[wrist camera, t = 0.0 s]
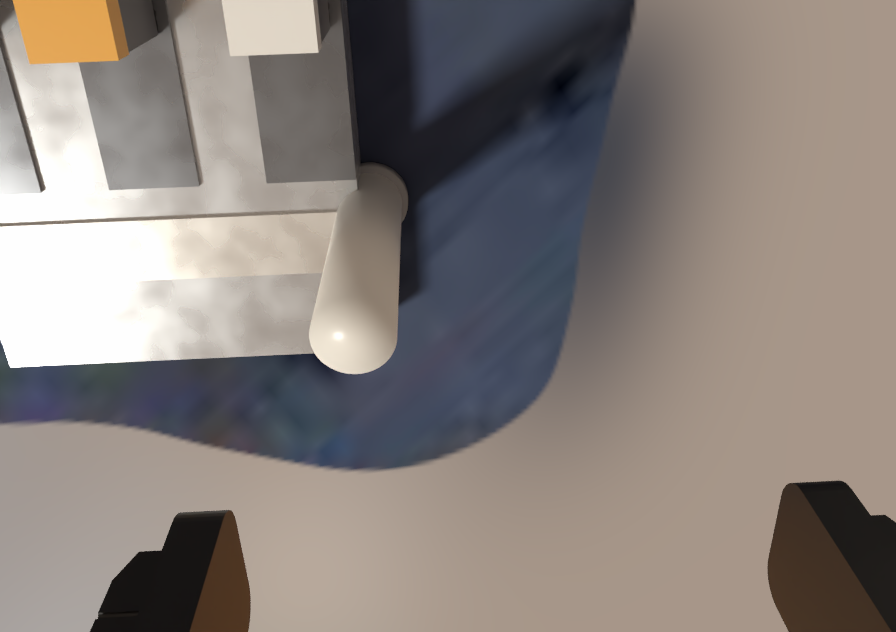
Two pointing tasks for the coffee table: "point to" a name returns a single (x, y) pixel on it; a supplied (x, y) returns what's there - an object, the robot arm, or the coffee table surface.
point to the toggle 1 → (84, 29)
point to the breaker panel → (170, 193)
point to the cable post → (362, 275)
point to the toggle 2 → (275, 26)
